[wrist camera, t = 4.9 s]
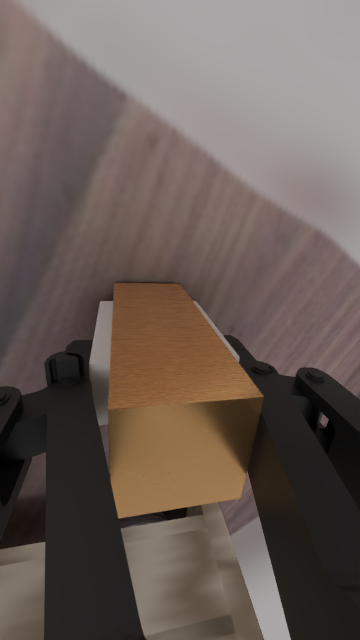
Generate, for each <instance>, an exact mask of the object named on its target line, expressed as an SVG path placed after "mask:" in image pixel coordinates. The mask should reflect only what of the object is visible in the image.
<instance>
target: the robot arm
mask: <svg viewBox="0 0 360 640" xmlns="http://www.w3.org/2000/svg"><path fill="white" fill-rule="evenodd" d="M193 302H194V303H195V305H196V306H197V307H198V309H199V310H200V311H201V313H202V314H203V316H204V317H205V318H206V320H207V321H208V322H209V324H210V325H211V326H212V328H213V329H214V330H215V332H216V333H217V334H218V336H219V337H220V338H221V340H222V341H223V342H224V344H225V345H226V346H227V348H228V349H229V350H230V352H231V353H232V354H233V356H234V357H235V358H236V360H237V361H238V362H239V364H240V365H241V367H242V368H243V369H244V371H245V372H246V373H247V375H248V376H249V377H250V379H251V380H252V381H253V383H254V384H255V385H256V387H257V388H258V389H259V391H260V392H261V393H262V395H263V396H264V400H263V404H262V408H261V413H260V417H259V421H258V425H257V430H256V434H255V438H254V443H253V447H252V451H251V455H250V460H249V464H248V468H247V471H248V474H249V478H250V482H251V486H252V490H253V494H254V498H255V502H256V505H257V509H258V513H259V517H260V521H261V525H262V529H263V533H264V536H265V540H266V544H267V548H268V552H269V556H270V559H271V564H272V567H273V571H274V575H275V579H276V583H277V587H278V591H279V595H280V599H281V603H282V606H283V610H284V614H285V618H286V622H287V626H288V630H289V633H290V637H291V640H360V399H358V398H357V397H356V396H355V395H353V394H352V393H351V392H350V391H348V390H347V389H346V388H345V387H343V386H342V385H341V384H339V383H338V382H337V381H336V380H334V379H333V378H332V377H331V376H329V375H328V374H326V373H325V372H323V371H320V370H318V369H316V368H306V367H304V368H300V369H299V370H298V371H297V374H296V377H290V376H283V375H279V374H278V372H277V370H276V369H275V368H274V367H273V366H271V365H269V364H267V363H264V362H260V361H256V360H255V358H254V357H253V356H252V355H251V354H250V353H249V352H248V350H246V348H245V347H244V346H243V345H242V343H241V342H240V341H239V340H238V339H236V338H234V337H233V336H231V335H222V334H221V333H220V331H219V330H218V329H217V327H216V326H215V325H214V324H213V322H212V321H211V320H210V318H209V317H208V316H207V315H206V313H205V312H204V311H203V309H202V308H201V307H200V306H199V304H198V303H197V302H196V301H193ZM112 315H113V301H100V305H99V310H98V316H97V322H96V327H95V333H94V339H93V340H76V341H73V342H71V343H70V344H69V345H68V346H67V348H66V351H63V352H59V353H56V354H54V355H51V356H50V357H49V358H47V359H46V361H45V363H44V364H45V371H46V378H47V387H46V388H44V389H42V390H40V391H37V392H34V393H30V394H26V395H22V396H21V392H20V391H19V389H17V388H14V387H8V386H4V387H0V542H1V539H2V537H3V534H4V532H5V529H6V526H7V524H8V521H9V518H10V516H11V513H12V510H13V508H14V505H15V502H16V500H17V497H18V495H19V492H20V489H21V487H22V484H23V481H24V479H25V476H26V473H27V471H28V468H29V465H30V463H31V460H32V457H33V456H36V455H38V454H41V453H44V452H46V524H45V597H44V640H146V638H145V636H144V633H143V630H142V626H141V622H140V618H139V613H138V608H137V604H136V599H135V594H134V589H133V585H132V580H131V575H130V571H129V566H128V561H127V556H126V552H125V547H124V542H123V538H122V533H121V528H120V523H119V519H118V514H117V509H116V504H115V500H114V495H113V490H112V486H111V481H110V476H109V471H108V467H107V462H106V457H105V453H104V448H103V443H102V438H101V434H100V429H99V426H100V425H108V396H109V376H110V356H111V335H112ZM323 414H324V415H325V416H326V417H327V418H328V419H329V421H328V424H327V426H326V427H324V426H323V425H322V424H321V423H320V421H321V418H322V415H323Z"/></svg>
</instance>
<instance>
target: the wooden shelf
mask: <svg viewBox="0 0 360 640" xmlns="http://www.w3.org/2000/svg"><path fill="white" fill-rule="evenodd" d="M121 533H122V538H123V542H124V547H125V552H126V556H127V561H128V566H129V571H130V575H131V580H132V585H133V589H134V594H135V599H136V604H137V608H138V613H139V618H140V622H141V626H142V630H143V633H144V636H145V638H146V640H264V639H263V635H262V632H261V629H260V626H259V623H258V620H257V617H256V614H255V611H254V608H253V605H252V602H251V599H250V596H249V593H248V590H247V587H246V584H245V581H244V578H243V575H242V572H241V569H240V566H239V563H238V560H237V557H236V554H235V551H234V548H233V545H232V542H231V539H230V535H229V532H228V529H227V526H226V523H225V520H224V517H223V514H222V511H221V508H220V505H219V502H215V503H209V504H203V505H197V506H191V507H188V508H187V516H186V518H180V519H174V520H169V521H163V522H157V523H151V524H145V525H139V526H134V527H128V528H122V529H121ZM44 597H45V542H40V543H35V544H29V545H23V546H17V547H11V548H6V549H0V640H44Z"/></svg>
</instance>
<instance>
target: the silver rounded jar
mask: <svg viewBox="0 0 360 640" xmlns="http://www.w3.org/2000/svg"><path fill="white" fill-rule="evenodd" d="M163 521H167V519H166V516H165V514H164V513H163V512H155V513H149V514H143V515H137V516H131V517H125V518H120V519H119V523H120V528H121V529H122V528H128V527H134V526H139V525H145V524H151V523H157V522H163Z"/></svg>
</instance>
